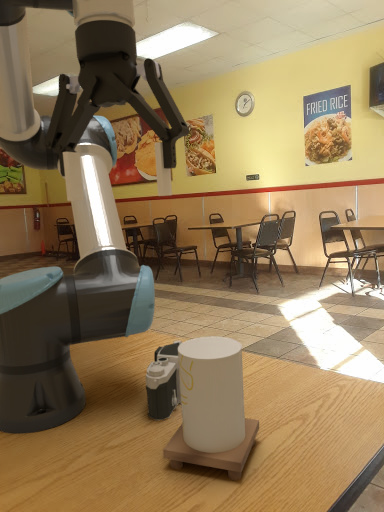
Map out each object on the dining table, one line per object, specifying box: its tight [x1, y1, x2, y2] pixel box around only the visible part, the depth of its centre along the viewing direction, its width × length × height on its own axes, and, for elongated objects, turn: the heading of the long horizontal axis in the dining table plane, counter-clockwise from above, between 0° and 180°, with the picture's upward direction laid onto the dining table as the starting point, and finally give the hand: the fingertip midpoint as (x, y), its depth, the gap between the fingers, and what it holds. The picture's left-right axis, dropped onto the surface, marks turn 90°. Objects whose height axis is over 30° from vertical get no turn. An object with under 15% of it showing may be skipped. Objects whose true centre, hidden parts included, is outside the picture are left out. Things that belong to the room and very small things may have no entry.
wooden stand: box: [162, 417, 260, 481], centre depth 58 cm, size 10×10×3 cm
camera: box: [145, 339, 183, 421], centre depth 74 cm, size 16×9×10 cm, turn 166°
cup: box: [178, 335, 246, 453], centre depth 56 cm, size 8×8×12 cm
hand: (118, 198), depth 58 cm, fingers open, 13 cm apart
